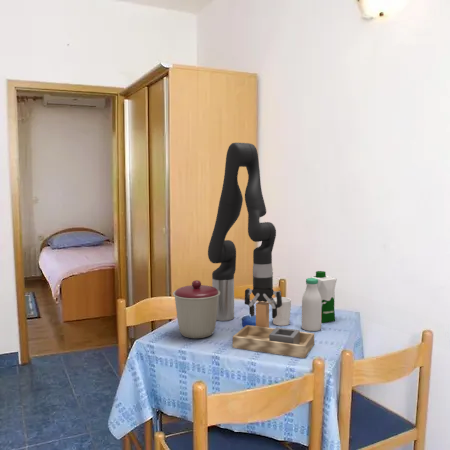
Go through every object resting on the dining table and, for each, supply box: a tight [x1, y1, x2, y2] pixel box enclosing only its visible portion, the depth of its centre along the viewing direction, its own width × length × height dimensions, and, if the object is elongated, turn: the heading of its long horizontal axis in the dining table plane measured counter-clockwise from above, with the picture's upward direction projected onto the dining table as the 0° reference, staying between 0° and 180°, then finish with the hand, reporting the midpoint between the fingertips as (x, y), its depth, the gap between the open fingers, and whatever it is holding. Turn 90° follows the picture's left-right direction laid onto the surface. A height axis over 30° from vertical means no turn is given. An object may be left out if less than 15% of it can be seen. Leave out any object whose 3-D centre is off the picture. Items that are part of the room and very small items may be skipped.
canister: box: [172, 279, 220, 339], centre depth 182 cm, size 18×18×21 cm
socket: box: [269, 326, 301, 345], centre depth 168 cm, size 9×9×5 cm
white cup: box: [271, 296, 292, 327], centre depth 195 cm, size 8×8×10 cm
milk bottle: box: [301, 277, 322, 332], centre depth 188 cm, size 8×8×20 cm
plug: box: [255, 301, 270, 328], centre depth 183 cm, size 4×4×12 cm
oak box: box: [232, 324, 315, 359], centre depth 170 cm, size 26×14×4 cm, turn 67°
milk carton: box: [310, 270, 338, 324], centre depth 199 cm, size 9×9×20 cm
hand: (263, 316), depth 182 cm, fingers open, 8 cm apart
